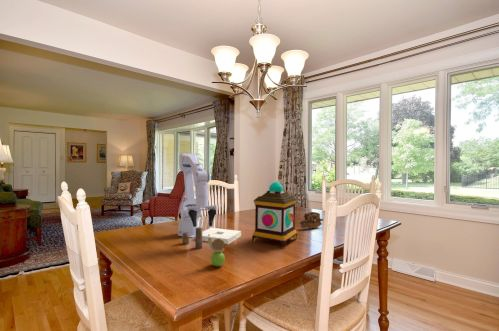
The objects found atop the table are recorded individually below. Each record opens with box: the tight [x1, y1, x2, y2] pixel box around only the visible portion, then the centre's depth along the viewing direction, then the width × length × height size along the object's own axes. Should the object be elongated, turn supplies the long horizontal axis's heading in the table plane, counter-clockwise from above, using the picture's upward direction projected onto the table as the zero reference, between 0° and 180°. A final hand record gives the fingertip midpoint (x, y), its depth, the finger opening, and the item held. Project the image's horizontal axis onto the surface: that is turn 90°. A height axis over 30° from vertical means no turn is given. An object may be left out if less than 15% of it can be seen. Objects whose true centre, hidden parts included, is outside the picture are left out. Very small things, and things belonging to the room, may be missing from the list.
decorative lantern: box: [251, 180, 298, 249], centre depth 132 cm, size 20×20×30 cm
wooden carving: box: [299, 211, 324, 229], centre depth 158 cm, size 16×5×10 cm, turn 120°
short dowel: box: [182, 232, 190, 246], centre depth 125 cm, size 3×3×5 cm
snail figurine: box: [208, 234, 226, 267], centre depth 99 cm, size 5×6×12 cm
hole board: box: [202, 227, 242, 245], centre depth 136 cm, size 18×16×2 cm
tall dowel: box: [194, 226, 203, 250], centre depth 119 cm, size 3×3×9 cm
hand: (202, 226), depth 120 cm, fingers open, 7 cm apart
